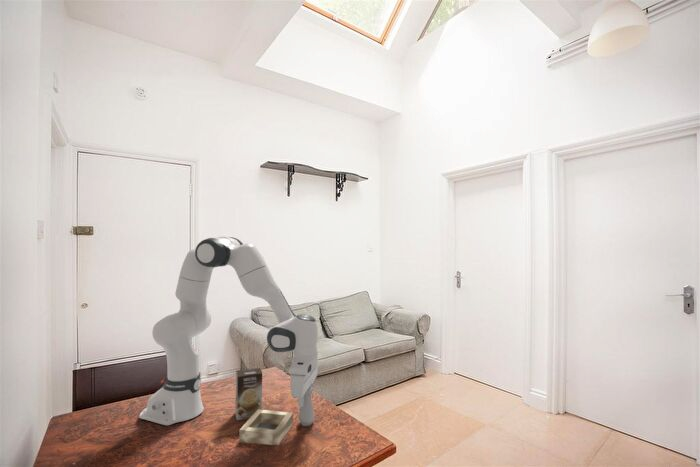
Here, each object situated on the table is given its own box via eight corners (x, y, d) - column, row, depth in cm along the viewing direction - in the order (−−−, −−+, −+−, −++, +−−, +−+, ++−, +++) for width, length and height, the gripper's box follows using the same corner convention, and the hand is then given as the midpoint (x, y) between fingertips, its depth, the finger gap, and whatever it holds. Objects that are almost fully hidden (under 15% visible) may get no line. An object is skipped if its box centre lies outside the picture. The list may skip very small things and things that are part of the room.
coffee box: (236, 421, 125) (236, 376, 125) (235, 412, 131) (235, 370, 131) (262, 416, 128) (262, 373, 129) (259, 408, 134) (260, 367, 134)
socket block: (239, 442, 112) (239, 429, 112) (257, 420, 125) (257, 409, 126) (278, 446, 110) (278, 434, 110) (293, 424, 123) (293, 412, 123)
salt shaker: (311, 428, 120) (311, 391, 120) (296, 427, 121) (296, 390, 121) (316, 420, 126) (316, 384, 126) (301, 418, 127) (301, 383, 127)
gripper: (306, 350, 134) (305, 386, 134) (287, 370, 114) (287, 412, 114) (321, 351, 133) (321, 387, 133) (305, 372, 113) (305, 414, 113)
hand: (305, 399), depth 124 cm, fingers open, 8 cm apart
